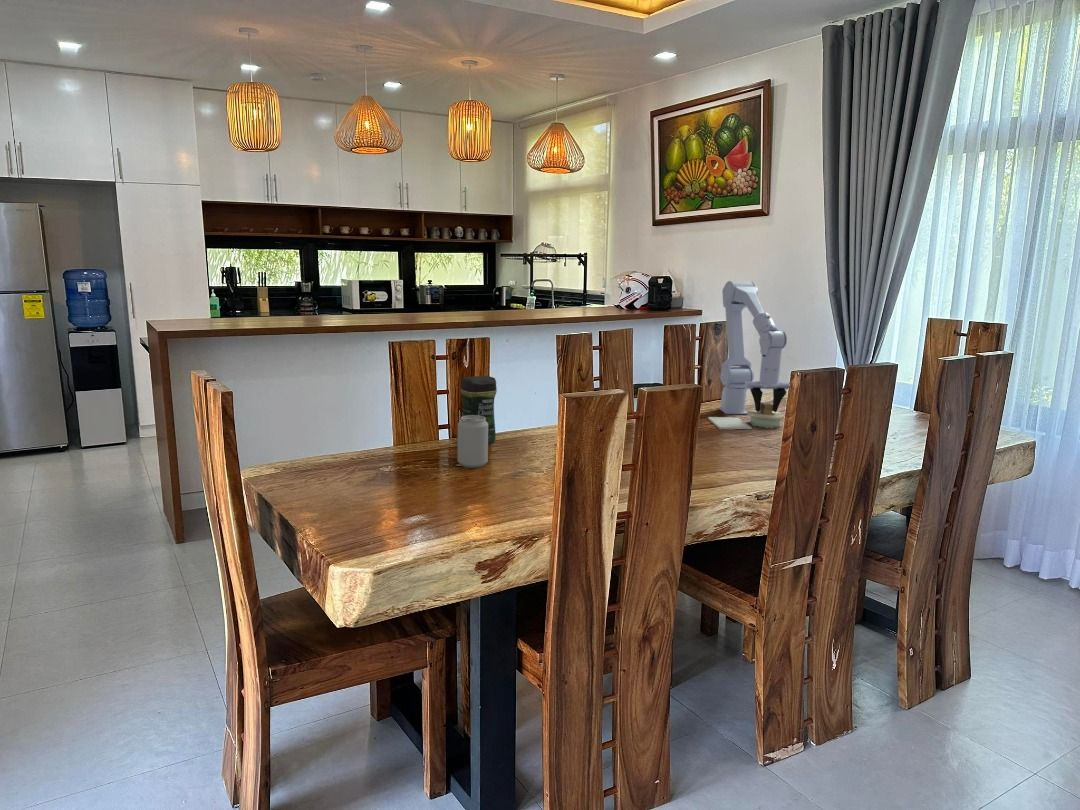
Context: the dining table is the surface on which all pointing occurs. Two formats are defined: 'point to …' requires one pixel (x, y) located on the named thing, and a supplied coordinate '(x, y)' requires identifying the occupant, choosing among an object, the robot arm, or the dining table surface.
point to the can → (472, 441)
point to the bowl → (764, 422)
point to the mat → (729, 423)
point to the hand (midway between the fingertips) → (766, 411)
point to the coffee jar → (480, 400)
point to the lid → (766, 412)
